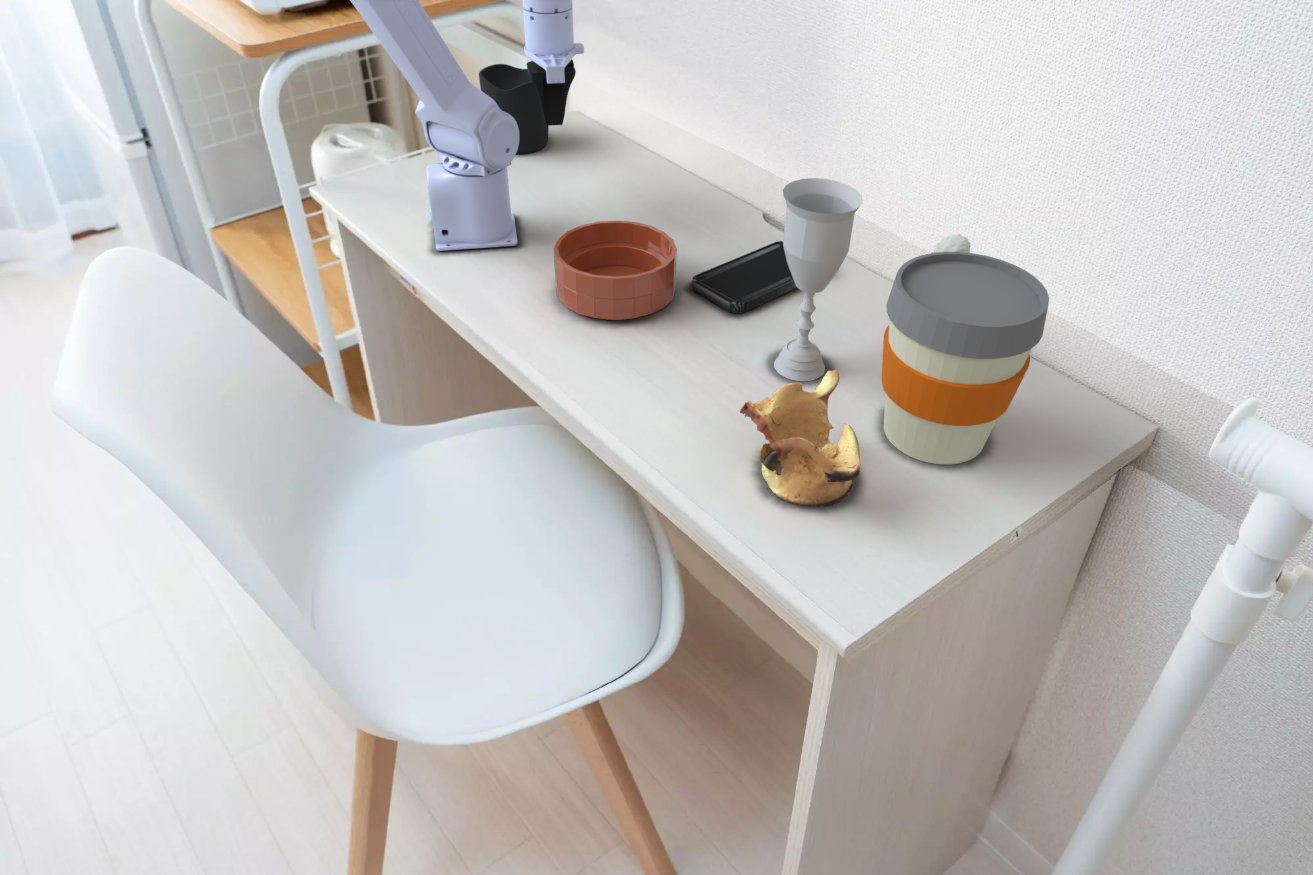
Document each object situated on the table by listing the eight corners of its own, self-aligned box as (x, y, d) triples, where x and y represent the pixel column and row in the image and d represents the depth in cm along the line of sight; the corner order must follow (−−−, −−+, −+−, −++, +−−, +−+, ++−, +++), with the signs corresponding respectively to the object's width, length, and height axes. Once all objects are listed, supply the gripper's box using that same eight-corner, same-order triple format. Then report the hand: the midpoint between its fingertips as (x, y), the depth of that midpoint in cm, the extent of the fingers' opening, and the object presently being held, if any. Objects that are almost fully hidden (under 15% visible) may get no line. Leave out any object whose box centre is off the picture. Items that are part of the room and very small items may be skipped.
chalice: (752, 353, 94) (768, 184, 83) (812, 340, 96) (836, 173, 85) (785, 393, 89) (807, 219, 78) (848, 379, 91) (878, 207, 80)
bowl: (562, 329, 97) (559, 282, 94) (551, 268, 107) (549, 224, 104) (685, 319, 99) (686, 273, 96) (663, 260, 109) (664, 217, 106)
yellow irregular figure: (718, 465, 81) (724, 386, 76) (794, 420, 86) (805, 343, 81) (824, 541, 74) (839, 460, 69) (900, 487, 79) (919, 408, 74)
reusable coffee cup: (1034, 462, 82) (1086, 315, 72) (906, 490, 79) (944, 339, 69) (956, 382, 91) (994, 242, 82) (839, 404, 88) (864, 261, 78)
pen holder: (528, 126, 141) (522, 58, 135) (564, 145, 135) (560, 75, 129) (473, 141, 136) (466, 70, 130) (508, 161, 131) (502, 89, 124)
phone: (687, 278, 103) (782, 239, 111) (687, 287, 104) (781, 247, 112) (737, 307, 99) (832, 264, 106) (736, 316, 99) (831, 272, 107)
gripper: (589, 23, 103) (592, 144, 112) (575, -10, 114) (579, 101, 123) (525, 26, 102) (533, 147, 111) (517, -9, 113) (525, 104, 122)
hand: (553, 123), depth 117 cm, fingers closed
